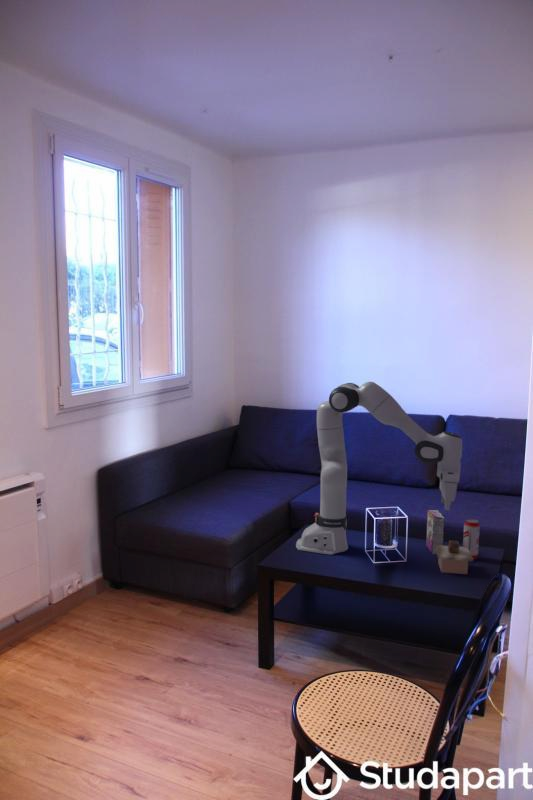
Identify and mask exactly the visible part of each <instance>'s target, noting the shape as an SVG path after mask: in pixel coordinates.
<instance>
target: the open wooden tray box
mask: <svg viewBox="0 0 533 800" xmlns="http://www.w3.org/2000/svg"><path fill="white" fill-rule="evenodd" d="M437 560H438V561H437V563H438V567H439V570H440V573H447V574H455V575H456V574H458V575H459V574H460V575H468V569H469V561H462V560H449V559H437Z"/></svg>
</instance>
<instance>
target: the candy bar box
mask: <svg viewBox="0 0 533 800" xmlns="http://www.w3.org/2000/svg"><path fill="white" fill-rule="evenodd" d="M445 519H446V518H445V517H444V515H443V514H442V512H440V510H438V509H428V510H427V520H426V541H425V545H426V547H427V549H428V551H429V552H430V553H431V555H435V556H436V555H437V552H436V549H435V545H443V546H444V534H445Z"/></svg>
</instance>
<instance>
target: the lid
mask: <svg viewBox="0 0 533 800" xmlns="http://www.w3.org/2000/svg"><path fill="white" fill-rule="evenodd" d="M435 549H436V552H437V558H438V559H449V560H462V561H468V562H473V561H474V560H473V558H472V555H471V553H470V551H469V549H468V547H463V546H460V543H459V541H458V540H454V539H453V540H450V539H449V540H448V545H444V544H443V545H435ZM438 559H437V560H438Z"/></svg>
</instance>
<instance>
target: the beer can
mask: <svg viewBox="0 0 533 800" xmlns="http://www.w3.org/2000/svg"><path fill="white" fill-rule="evenodd" d="M480 526H481V525H480V522H479V520H477V519H475V518H474V519H473V518H467V519H465V521H464V523H463V538H462V547H468V549H469V551H470V553H471V555H472V558H473V561H475V560H476V559H478V557H479V541H480V529H481V528H480ZM474 559H475V560H474Z"/></svg>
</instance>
